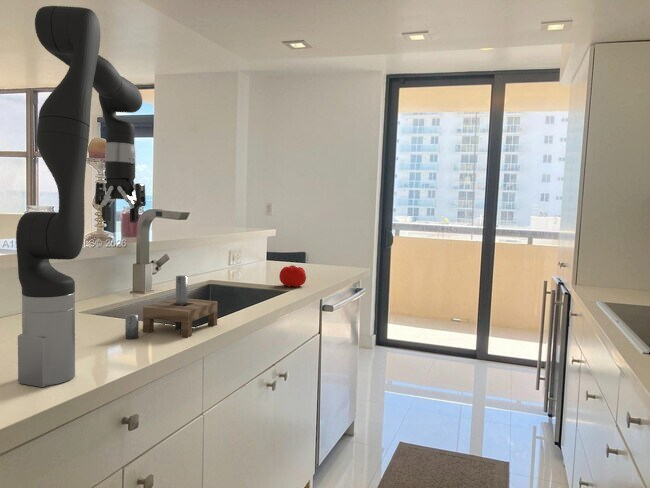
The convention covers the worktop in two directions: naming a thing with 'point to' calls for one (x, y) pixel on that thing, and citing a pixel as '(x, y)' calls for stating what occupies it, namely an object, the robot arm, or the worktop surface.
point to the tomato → (292, 276)
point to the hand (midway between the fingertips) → (120, 221)
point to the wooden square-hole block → (180, 314)
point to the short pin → (131, 326)
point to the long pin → (181, 294)
